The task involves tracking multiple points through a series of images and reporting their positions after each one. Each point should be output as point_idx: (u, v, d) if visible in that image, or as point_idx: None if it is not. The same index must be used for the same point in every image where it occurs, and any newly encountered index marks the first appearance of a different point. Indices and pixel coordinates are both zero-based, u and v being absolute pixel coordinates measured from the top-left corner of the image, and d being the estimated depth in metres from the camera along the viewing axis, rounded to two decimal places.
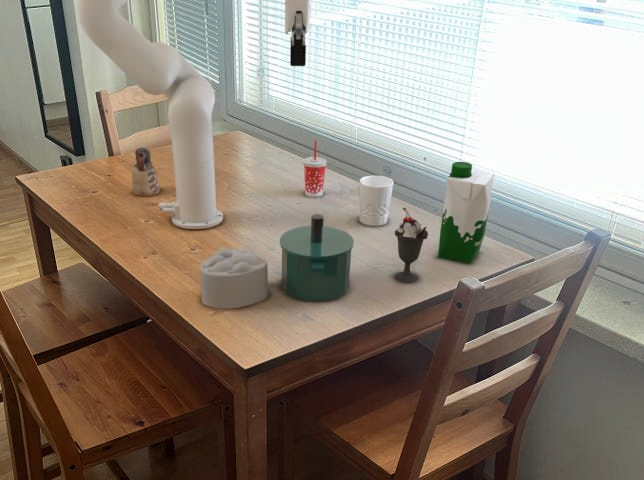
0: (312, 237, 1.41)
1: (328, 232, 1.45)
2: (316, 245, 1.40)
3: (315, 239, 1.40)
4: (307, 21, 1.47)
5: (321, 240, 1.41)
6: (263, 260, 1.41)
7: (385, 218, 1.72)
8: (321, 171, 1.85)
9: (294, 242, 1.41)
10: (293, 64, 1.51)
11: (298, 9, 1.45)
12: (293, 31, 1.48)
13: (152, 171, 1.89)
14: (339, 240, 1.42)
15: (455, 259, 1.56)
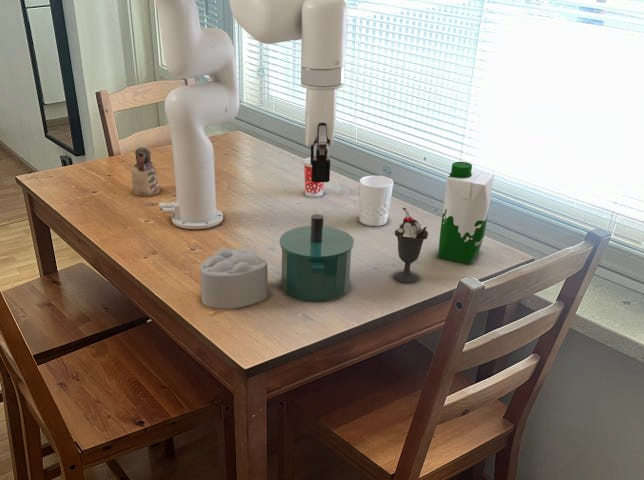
0: (312, 237, 1.41)
1: (328, 232, 1.45)
2: (316, 245, 1.40)
3: (315, 239, 1.40)
4: (332, 134, 1.26)
5: (321, 240, 1.41)
6: (263, 260, 1.41)
7: (385, 218, 1.72)
8: None
9: (294, 242, 1.41)
10: (315, 180, 1.30)
11: (321, 121, 1.24)
12: (315, 144, 1.27)
13: (152, 171, 1.89)
14: (339, 240, 1.42)
15: (455, 259, 1.56)
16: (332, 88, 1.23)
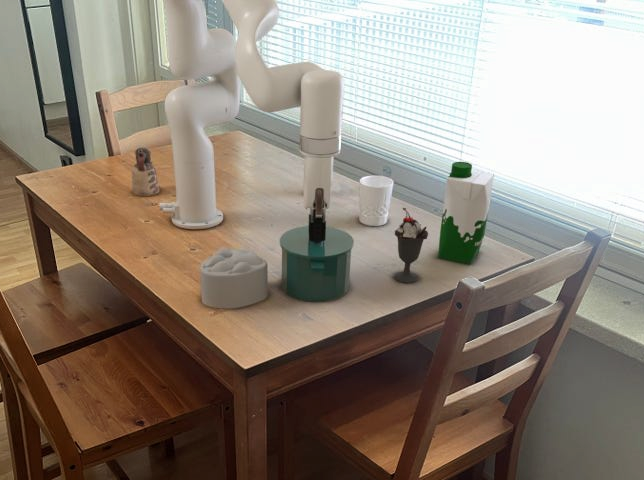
0: None
1: (328, 232, 1.45)
2: (316, 245, 1.40)
3: None
4: (329, 198, 1.32)
5: None
6: (263, 260, 1.41)
7: (385, 218, 1.72)
8: None
9: (294, 242, 1.41)
10: (312, 239, 1.40)
11: (319, 186, 1.31)
12: (312, 209, 1.35)
13: (152, 171, 1.89)
14: (339, 240, 1.42)
15: (455, 259, 1.56)
16: (329, 156, 1.29)
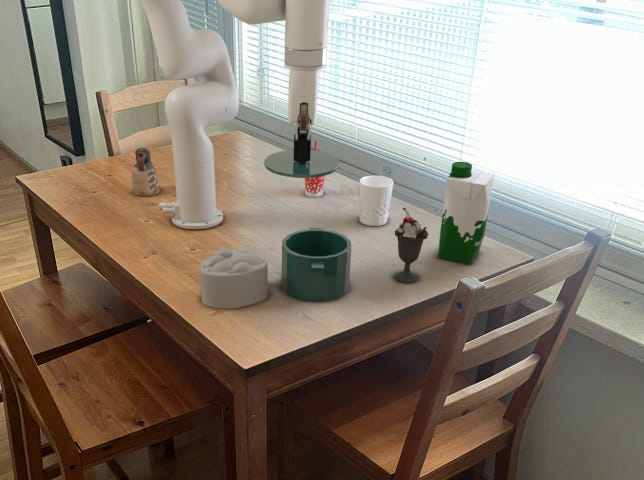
0: None
1: (313, 155, 1.43)
2: (301, 165, 1.38)
3: None
4: (313, 113, 1.30)
5: (306, 161, 1.39)
6: (263, 260, 1.41)
7: (385, 218, 1.72)
8: None
9: (279, 163, 1.39)
10: (297, 159, 1.38)
11: (303, 100, 1.28)
12: (297, 126, 1.33)
13: (152, 171, 1.89)
14: (324, 162, 1.40)
15: (455, 259, 1.56)
16: (314, 69, 1.27)
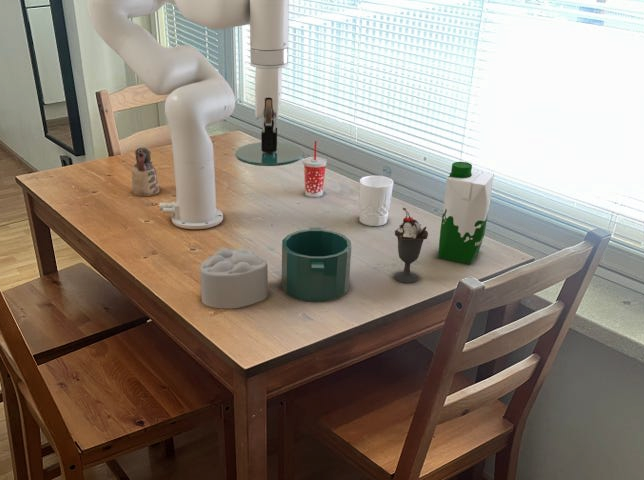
0: None
1: (280, 146, 1.56)
2: (268, 155, 1.51)
3: None
4: (277, 107, 1.44)
5: None
6: (263, 260, 1.41)
7: (385, 218, 1.72)
8: (321, 171, 1.85)
9: (248, 153, 1.53)
10: (264, 150, 1.51)
11: (268, 96, 1.42)
12: (263, 120, 1.47)
13: (152, 171, 1.89)
14: (290, 152, 1.53)
15: (455, 259, 1.56)
16: (277, 67, 1.41)
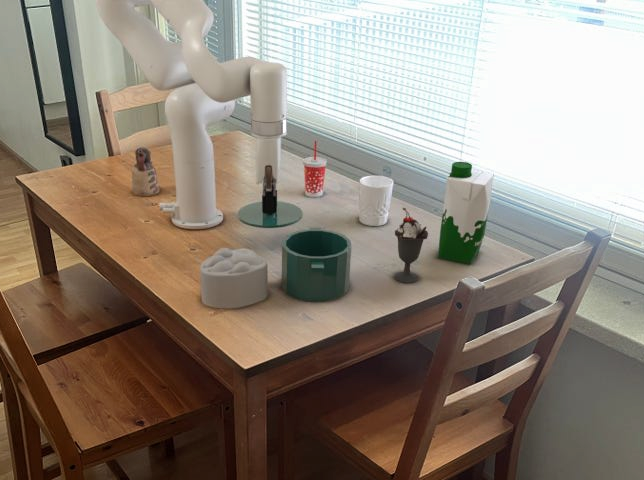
0: None
1: (280, 206, 1.64)
2: (269, 216, 1.59)
3: None
4: (277, 174, 1.51)
5: None
6: (263, 260, 1.41)
7: (385, 218, 1.72)
8: (321, 171, 1.85)
9: (250, 214, 1.60)
10: (265, 211, 1.59)
11: (268, 164, 1.50)
12: (264, 184, 1.55)
13: (152, 171, 1.89)
14: (289, 212, 1.61)
15: (455, 259, 1.56)
16: (276, 137, 1.48)
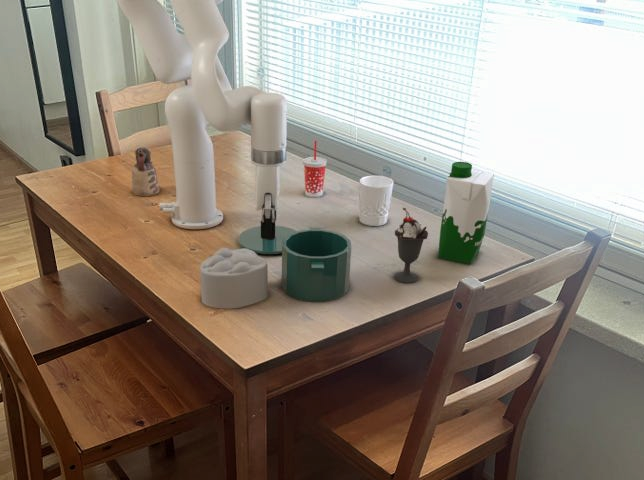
0: None
1: (280, 231, 1.67)
2: (269, 242, 1.63)
3: None
4: (276, 201, 1.55)
5: None
6: (263, 260, 1.41)
7: (385, 218, 1.72)
8: (321, 171, 1.85)
9: (250, 239, 1.64)
10: (263, 237, 1.59)
11: (267, 191, 1.53)
12: (263, 209, 1.56)
13: (152, 171, 1.89)
14: None
15: (455, 259, 1.56)
16: (275, 165, 1.52)
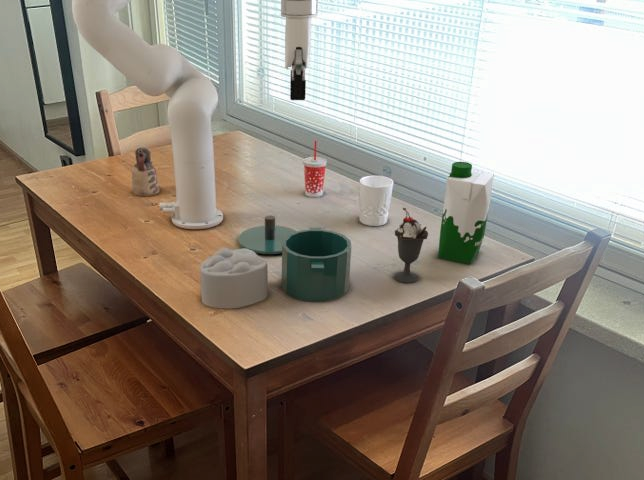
0: (266, 235, 1.63)
1: (280, 231, 1.67)
2: (269, 242, 1.63)
3: (268, 237, 1.63)
4: (307, 57, 1.49)
5: (273, 238, 1.64)
6: (263, 260, 1.41)
7: (385, 218, 1.72)
8: (321, 171, 1.85)
9: (250, 239, 1.64)
10: (293, 98, 1.53)
11: (298, 45, 1.47)
12: (293, 66, 1.50)
13: (152, 171, 1.89)
14: None
15: (455, 259, 1.56)
16: (307, 17, 1.46)
